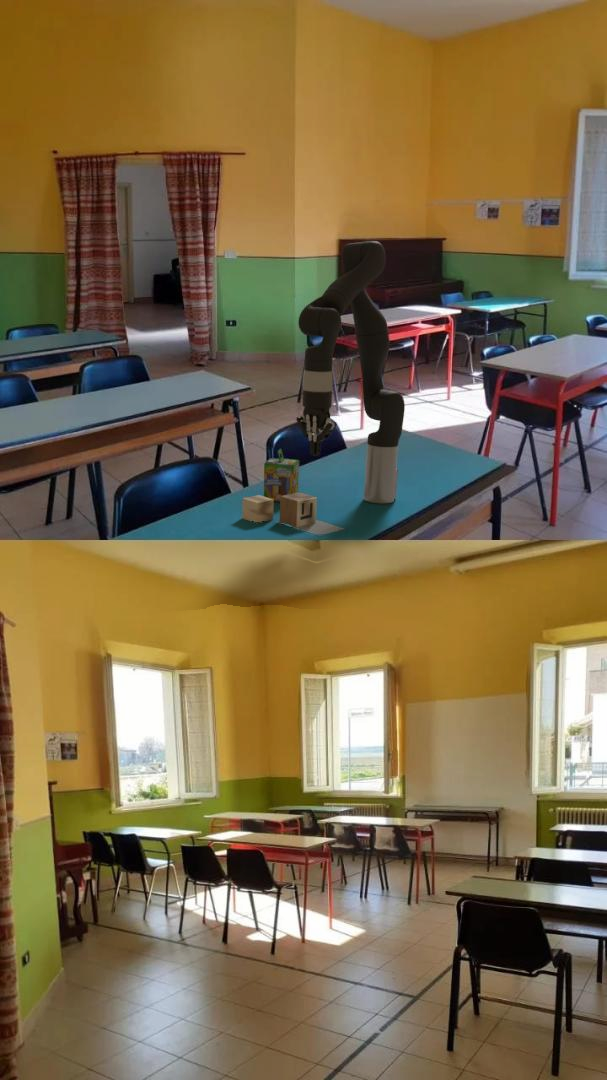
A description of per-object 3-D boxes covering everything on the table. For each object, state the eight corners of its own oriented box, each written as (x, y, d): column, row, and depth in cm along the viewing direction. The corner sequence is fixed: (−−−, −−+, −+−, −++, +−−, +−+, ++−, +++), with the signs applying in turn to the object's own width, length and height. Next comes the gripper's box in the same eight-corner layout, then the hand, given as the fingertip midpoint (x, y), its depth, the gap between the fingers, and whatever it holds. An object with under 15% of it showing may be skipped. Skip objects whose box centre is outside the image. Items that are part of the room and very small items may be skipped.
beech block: (258, 515, 232) (259, 495, 230) (273, 520, 228) (273, 499, 226) (242, 519, 228) (242, 498, 226) (256, 524, 224) (257, 502, 222)
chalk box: (292, 503, 246) (294, 454, 241) (262, 501, 247) (264, 451, 243) (299, 496, 254) (301, 448, 250) (270, 493, 256) (271, 446, 252)
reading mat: (303, 516, 233) (303, 515, 233) (344, 529, 222) (344, 528, 222) (274, 522, 226) (274, 522, 226) (316, 536, 215) (316, 536, 215)
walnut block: (315, 522, 227) (297, 516, 232) (317, 497, 225) (298, 492, 230) (297, 526, 222) (279, 520, 227) (298, 501, 220) (280, 496, 225)
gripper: (346, 390, 210) (343, 457, 216) (309, 384, 219) (307, 449, 224) (326, 392, 205) (323, 461, 211) (289, 386, 214) (287, 452, 219)
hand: (315, 455), depth 218 cm, fingers closed
